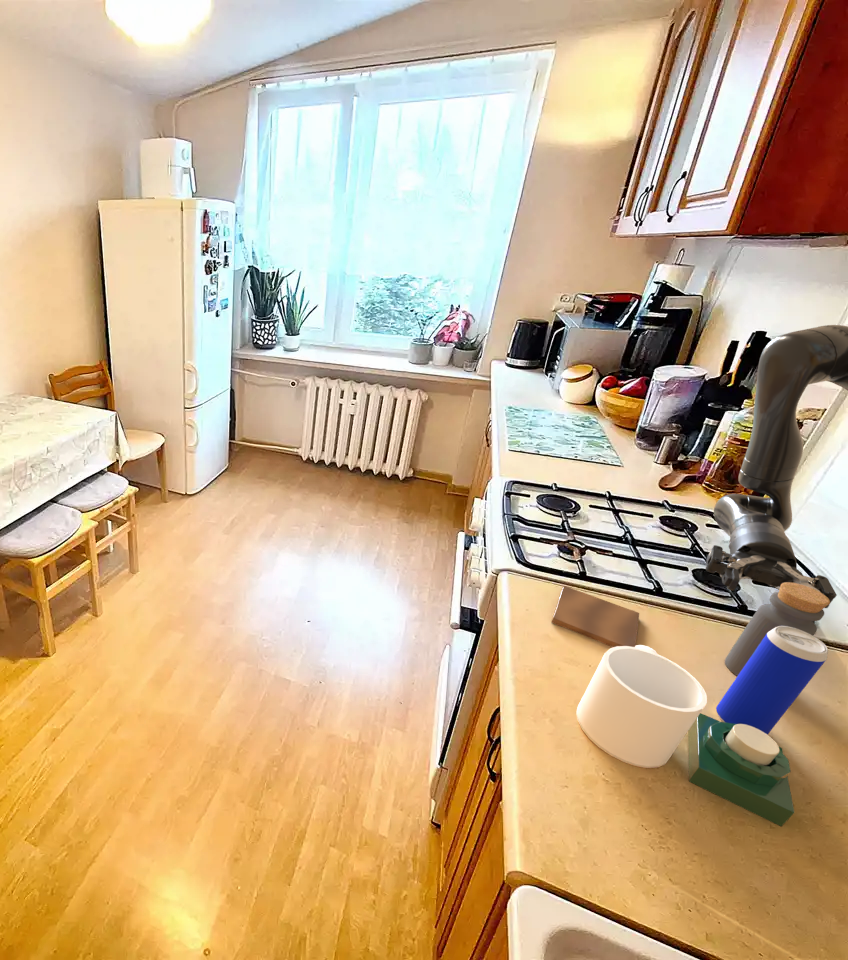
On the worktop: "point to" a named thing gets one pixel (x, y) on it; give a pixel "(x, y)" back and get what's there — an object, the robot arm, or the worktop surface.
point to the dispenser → (738, 772)
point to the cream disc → (752, 744)
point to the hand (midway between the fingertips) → (771, 597)
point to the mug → (639, 705)
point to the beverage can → (772, 678)
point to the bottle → (778, 620)
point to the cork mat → (596, 618)
